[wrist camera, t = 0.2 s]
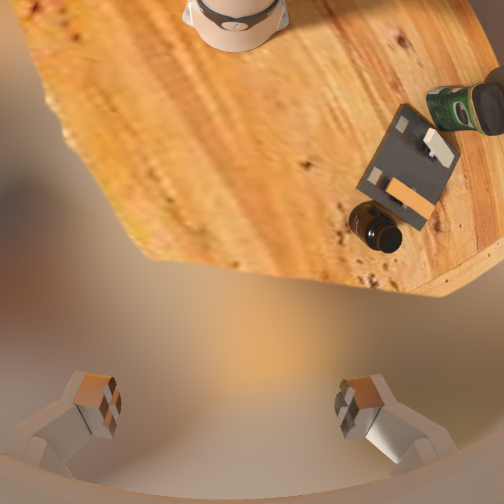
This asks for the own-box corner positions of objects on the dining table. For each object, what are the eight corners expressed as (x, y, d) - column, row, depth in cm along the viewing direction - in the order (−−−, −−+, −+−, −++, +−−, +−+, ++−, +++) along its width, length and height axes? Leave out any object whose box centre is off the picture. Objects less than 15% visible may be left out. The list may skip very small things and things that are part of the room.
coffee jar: (459, 123, 52) (519, 130, 35) (436, 134, 53) (497, 144, 36) (444, 82, 48) (504, 78, 31) (419, 92, 49) (480, 88, 32)
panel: (355, 188, 56) (362, 191, 53) (400, 104, 50) (409, 103, 47) (416, 229, 60) (424, 234, 57) (455, 153, 54) (465, 155, 51)
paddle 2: (417, 142, 48) (427, 145, 46) (427, 123, 46) (437, 126, 44) (438, 166, 53) (447, 170, 51) (446, 149, 52) (455, 153, 50)
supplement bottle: (341, 217, 58) (366, 238, 47) (367, 195, 57) (396, 211, 46) (359, 242, 60) (385, 266, 49) (383, 221, 59) (413, 241, 48)
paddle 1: (382, 193, 55) (384, 194, 52) (392, 174, 53) (395, 174, 51) (422, 221, 54) (426, 222, 51) (433, 202, 52) (437, 203, 50)
